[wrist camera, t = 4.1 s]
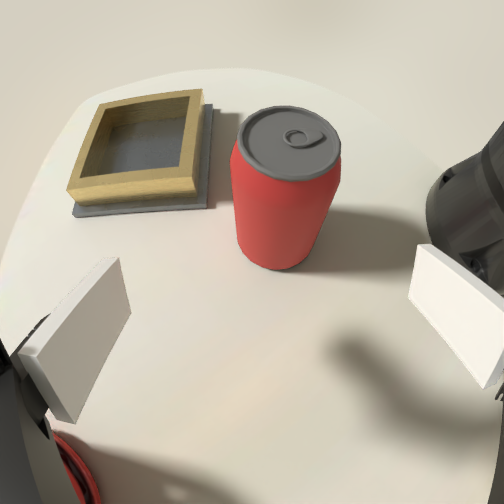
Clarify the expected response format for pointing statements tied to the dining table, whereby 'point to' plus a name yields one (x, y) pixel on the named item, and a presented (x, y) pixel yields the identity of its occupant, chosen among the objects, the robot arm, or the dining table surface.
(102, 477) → the dining table surface
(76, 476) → the plant pot
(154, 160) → the frame
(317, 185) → the beer can
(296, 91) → the dining table surface
